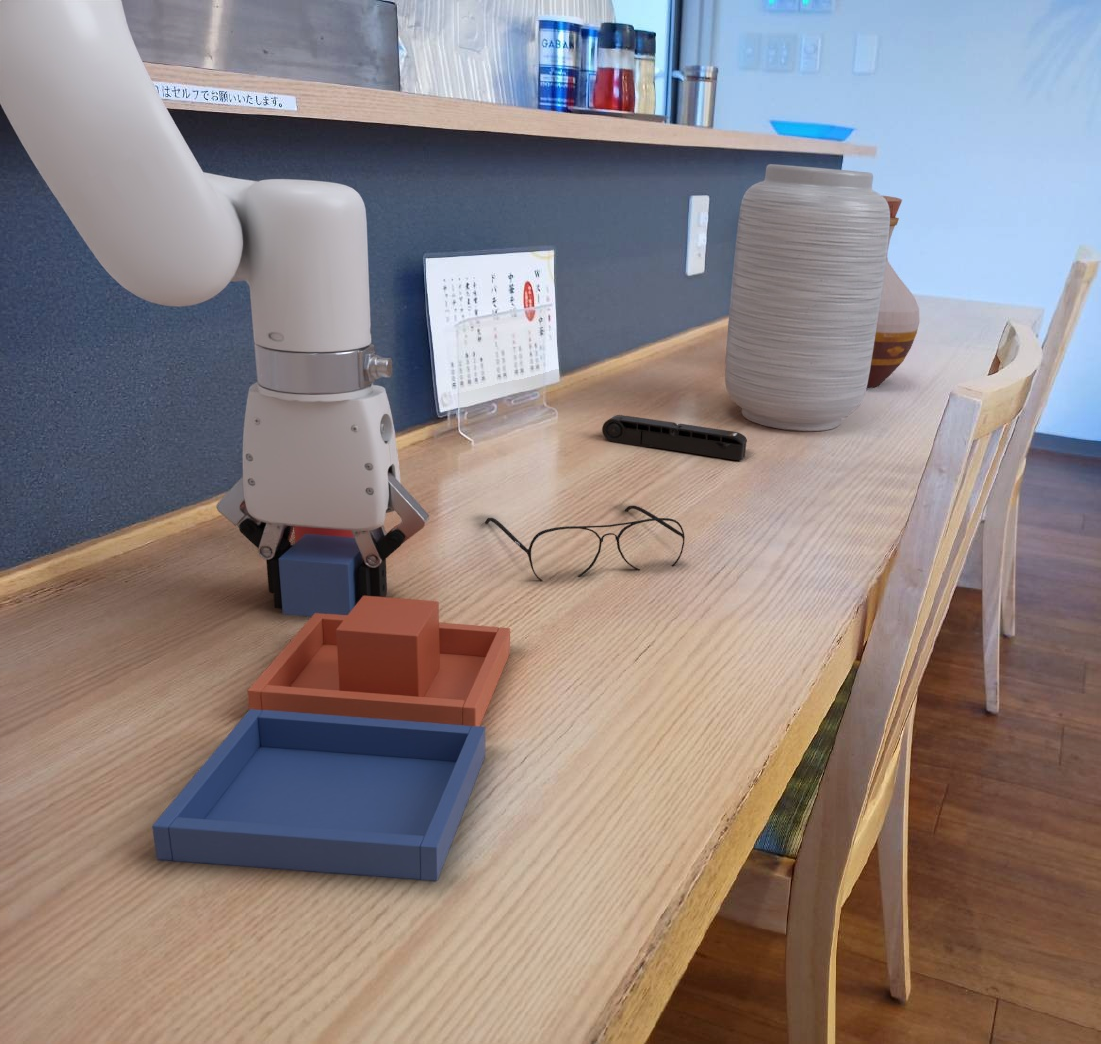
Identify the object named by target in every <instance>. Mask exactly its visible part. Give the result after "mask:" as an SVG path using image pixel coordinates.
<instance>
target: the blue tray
mask: <svg viewBox="0 0 1101 1044" xmlns="http://www.w3.org/2000/svg"><path fill="white" fill-rule="evenodd" d="M485 758H486V726H481V725H480V726H472V727H471V726H466V725H453V724H440V723H427V722H414V721H401V720H388V719H375V718H362V717H349V716H336V715H323V714H310V713H297V712H284V711H271V710H255V709H250V710H249V709H248V711H247V712H245V714H244V716H243V717H242V718H241V719H240V720H239V721H238V723H237V724H236V725H235V726H234V727H233V728H232V730H230V732H229V733H228V734H227V736H226V737H225V738H224V739H223V740H222V742H221V743H219V745H218V746H217V747H216V749H215V750H214V751H213V752H212V754H210V756H209V757H208V758H207V760H206V761H205V762H204V763H203V764H202V766H201V767H200V768H199V769H198V770H197V772H196V773H195V774H194V775H193V776H192V778H191V779H190V780H189V781H188V782H187V783H186V784H185V786H184V787H183V788H182V789H181V790H180V792H179V793H178V794H177V795H176V797H175V798H174V799H173V800H172V801H171V802H170V804H169V805H168V806H167V808H166V809H165V810H164V811H163V812H162V813H161V815H160V816H159V817H158V818H157V819H156V821H154V823H153V824H152V826H151V827H152V828H151V829H152V834H153V842H154V849H155V850H154V851H155V858H156V860H157V861H162V862H163V861H164V862H177V863H188V864H189V863H191V864H203V865H216V866H227V867H228V866H229V867H242V868H254V869H255V868H258V869H267V870H268V869H269V870H282V871H293V872H295V871H296V872H306V873H307V872H309V873H320V874H321V873H322V874H334V875H335V874H336V875H348V876H358V877H359V876H361V877H374V878H388V879H400V880H415V881H424V882H425V881H426V882H427V881H428V882H438V880H439V878H440V875H441V872H442V870H443V867H444V864H445V862H446V859H447V857H448V854H449V851H450V849H451V846H452V844H453V841H454V838H455V836H456V834H457V830H458V828H459V825H460V823H461V820H462V817H463V815H464V812H465V810H466V807H467V804H468V803H469V800H470V796H471V794H472V792H473V789H474V786H475V784H476V781H477V778H478V776H479V773H480V771H481V768H482V765H483V763H484V760H485Z"/></svg>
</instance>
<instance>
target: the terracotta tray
mask: <svg viewBox="0 0 1101 1044" xmlns="http://www.w3.org/2000/svg"><path fill="white" fill-rule="evenodd" d="M346 617H347V615H337V614H322V613H315V614H314V615H313V616H312V617H310V618H309V619H308V621H307V622H306V623H304V625H303V626H302V627H301V628H300V630H299V631H297V633H296V634H295V635H294V637H292V639H290V640H289V642H288V643H287V645H285V647H284V648H283V649H282V650H281V651H280V652H279V654H278V655H277V656H276V657H275V658H274V660H273V661H272V662H271V663H270V664H269V665H268V666H267V667H266V669H264V671H263V672H262V673H261V674H260V675H259V677H258V678H257V679H256V680H255V681H254V682H253V684H252V685H251V686H250V687H249V688H248V689H247V698H248V711H249V710H250V709H255V710H271V711H284V712H297V713H310V714H323V715H336V716H349V717H362V718H375V719H388V720H401V721H414V722H427V723H440V724H453V725H466V726H471V727H472V726H480V727H481V724H482V722H483V720H484V717H485V715H486V712H487V710H488V708H489V705H490V703H491V701H492V698H493V696H494V694H495V693H494V692H495V691H496V689H497V686H498V683H499V681H500V679H501V677H502V673H503V671H504V669H505V667H506V664H507V662H508V659H509V656H510V653H511V629H510V627H501V626H500V627H499V626H491V625H490V626H489V625H479V624H478V625H476V624H466V623H465V624H463V623H451V622H450V623H449V622H440V621H439V651H440V668H439V670H438V672H437V674H436V676H435V677H434V679H433V681H432V683H431V685H430V687H429V689H428V690H427V692H426V694H425V696H424V697H415V696H402V695H389V694H377V693H364V692H351V691H340V689H339V672H338V654H337V636H336V629H337V628H338V627H339V625H340V624H341V623H342V622H343V620H344V619H345V618H346Z"/></svg>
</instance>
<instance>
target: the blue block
mask: <svg viewBox="0 0 1101 1044" xmlns="http://www.w3.org/2000/svg"><path fill="white" fill-rule="evenodd" d="M292 545H293V546H292V547H291V548H290V549H289V550H288V551H286V552H285V553H284V554H283V555H282V556H281V557H280V558H279V572H280V584H281V597H282V608H281V609H282V615H285V616H296V617H297V616H299V617H310V618H311V617H312V616H313V615H314V614H315V613H322V614H337V615H348V614H349V613H350V612H351V610H352V609H353V608H354V607H355V605H356V604H357V603H358V583H357V569H358V567H359V566H360V565H361V564H362V555H361V553H360V550H359V548H358V546H357V543H356V541H355V539H354V538H353V537H340V536H327V535H315V534H305V535H304V536H303V537H302V538H300V539H299V540H298V541H297V542H296V543H295V542H294V544H292Z"/></svg>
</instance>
